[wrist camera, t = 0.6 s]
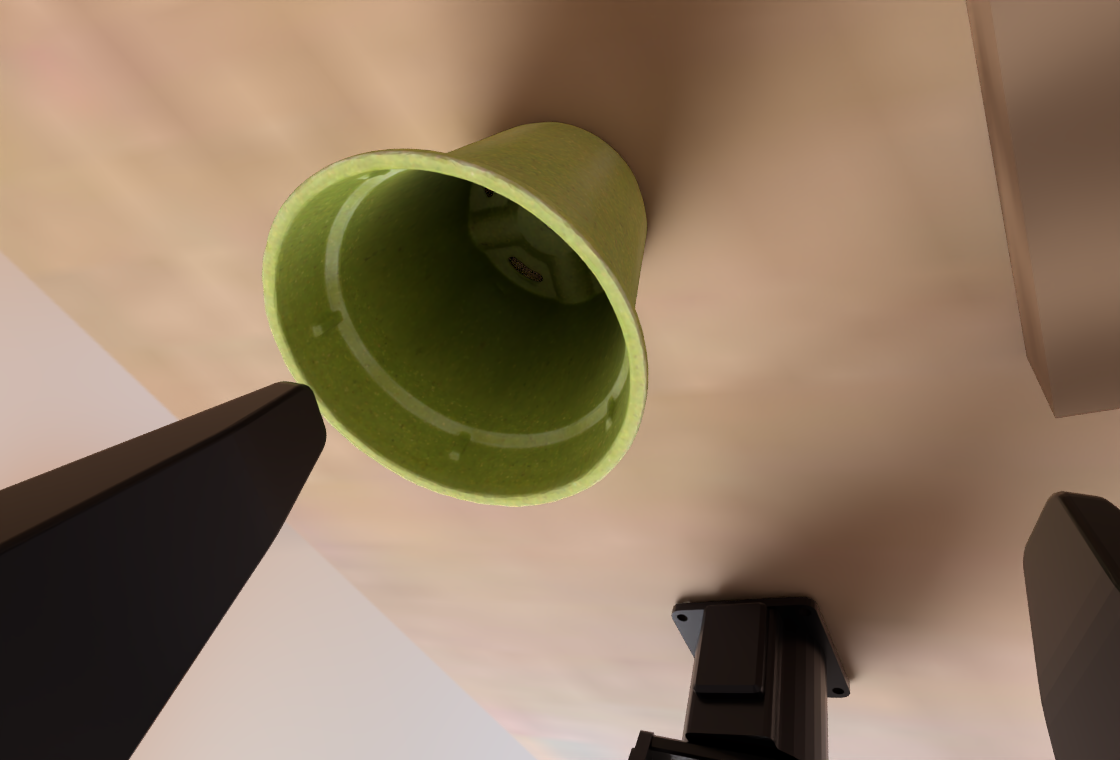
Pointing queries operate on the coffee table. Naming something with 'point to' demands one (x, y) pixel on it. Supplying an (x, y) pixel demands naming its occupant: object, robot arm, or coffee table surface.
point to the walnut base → (1058, 184)
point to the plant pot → (470, 310)
